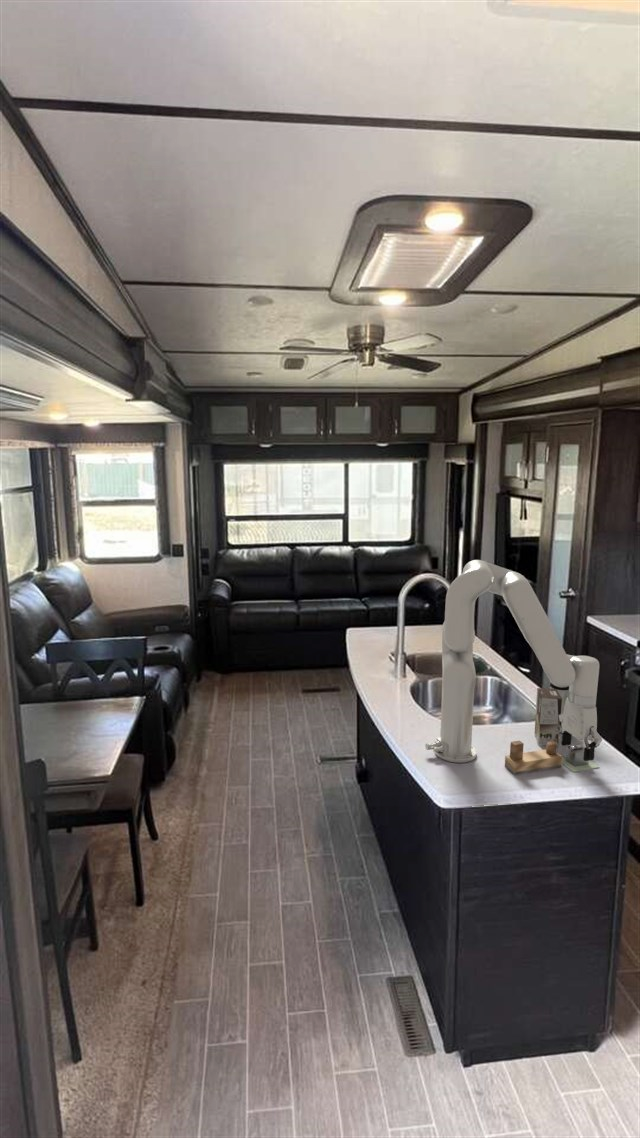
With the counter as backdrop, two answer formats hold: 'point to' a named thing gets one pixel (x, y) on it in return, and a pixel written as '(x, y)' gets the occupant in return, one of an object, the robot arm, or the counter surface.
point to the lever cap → (575, 755)
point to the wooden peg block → (532, 758)
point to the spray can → (564, 695)
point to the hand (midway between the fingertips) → (577, 752)
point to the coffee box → (547, 716)
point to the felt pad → (579, 768)
